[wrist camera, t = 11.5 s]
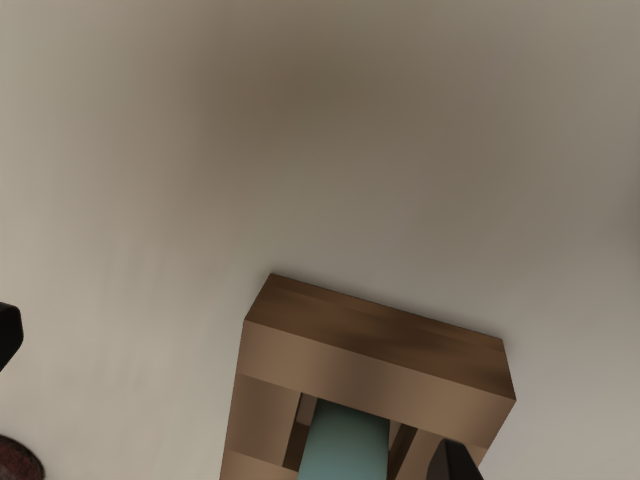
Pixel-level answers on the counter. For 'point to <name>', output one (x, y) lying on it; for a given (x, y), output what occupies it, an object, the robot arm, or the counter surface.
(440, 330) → the socket block
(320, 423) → the pin
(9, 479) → the can
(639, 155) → the counter surface
